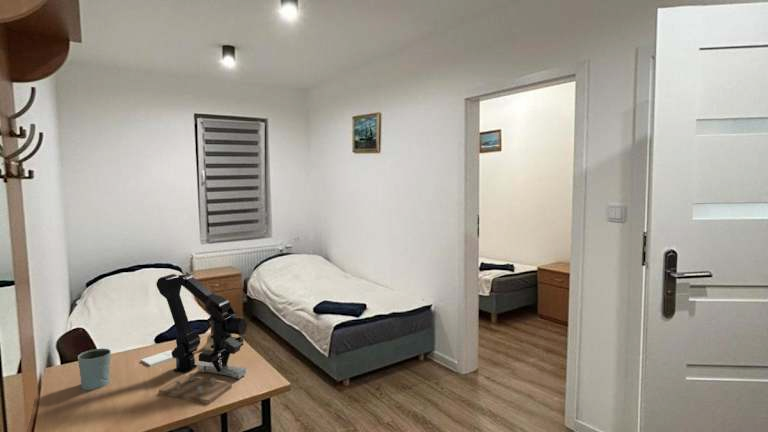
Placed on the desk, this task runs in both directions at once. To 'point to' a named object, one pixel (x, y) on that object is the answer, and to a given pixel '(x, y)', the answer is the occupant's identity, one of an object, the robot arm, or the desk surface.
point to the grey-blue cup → (94, 368)
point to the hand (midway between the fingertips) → (221, 369)
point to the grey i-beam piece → (222, 369)
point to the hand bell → (209, 339)
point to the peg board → (195, 389)
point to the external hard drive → (157, 358)
